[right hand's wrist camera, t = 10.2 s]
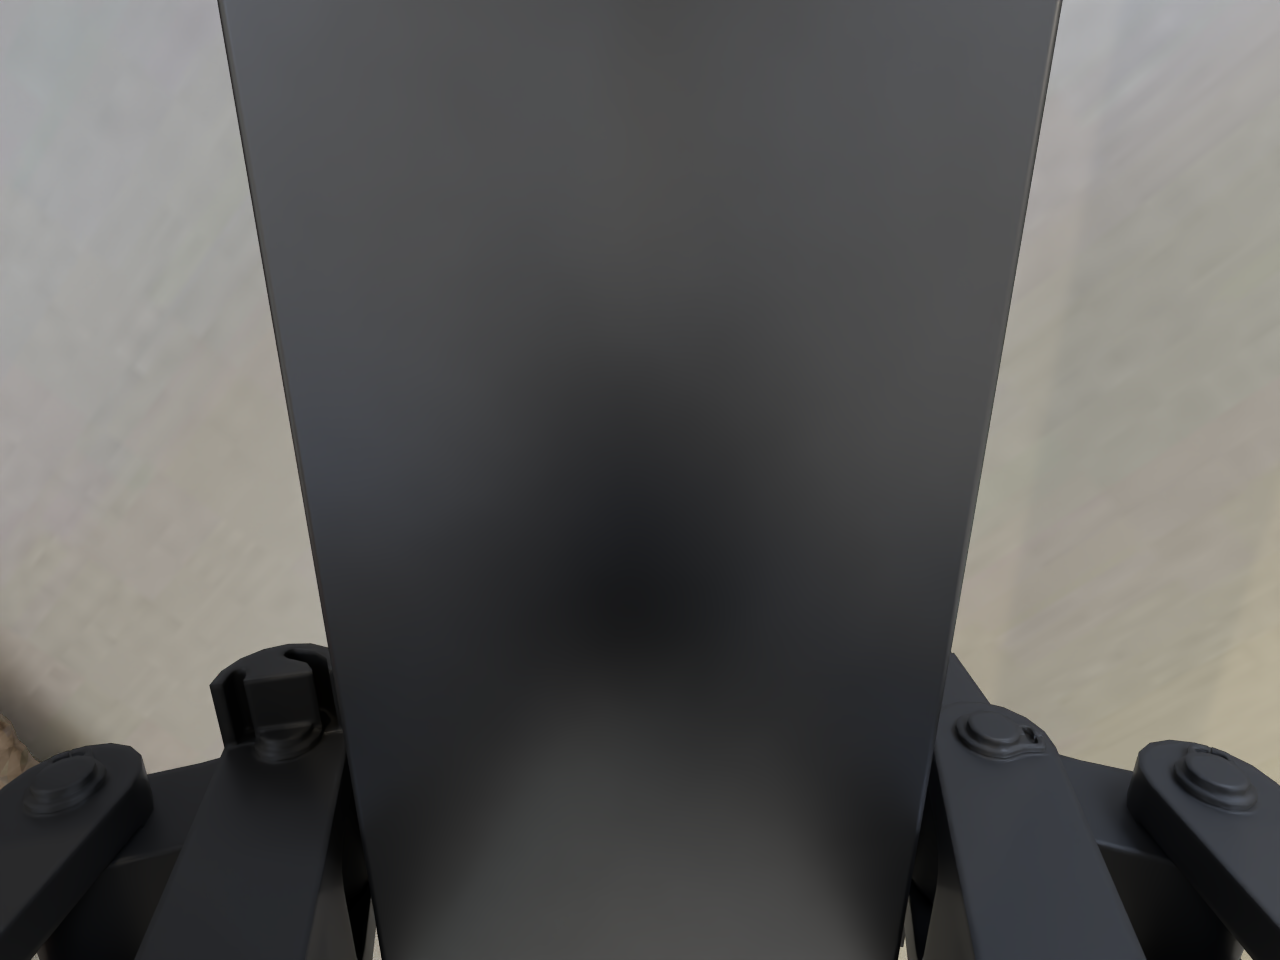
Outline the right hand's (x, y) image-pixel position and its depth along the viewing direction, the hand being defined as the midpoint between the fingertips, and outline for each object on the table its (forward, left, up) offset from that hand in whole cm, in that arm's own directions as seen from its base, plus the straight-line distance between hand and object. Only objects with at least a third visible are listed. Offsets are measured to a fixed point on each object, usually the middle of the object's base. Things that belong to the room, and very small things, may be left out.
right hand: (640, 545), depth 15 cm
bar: (+5, +8, -1) cm, 9 cm away
